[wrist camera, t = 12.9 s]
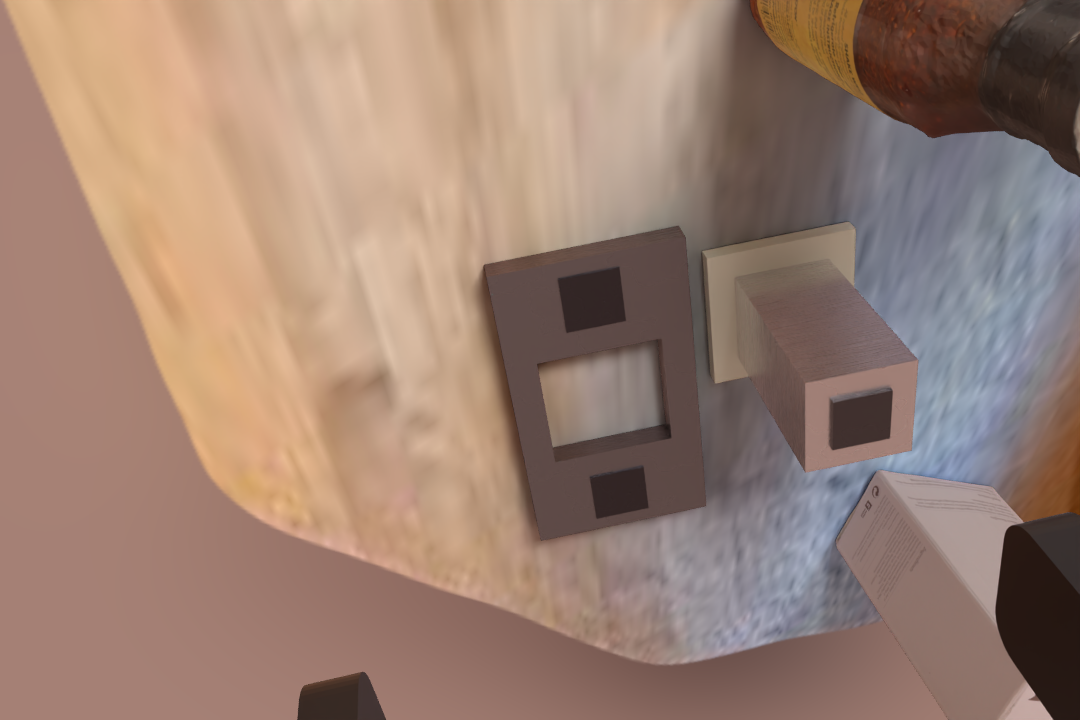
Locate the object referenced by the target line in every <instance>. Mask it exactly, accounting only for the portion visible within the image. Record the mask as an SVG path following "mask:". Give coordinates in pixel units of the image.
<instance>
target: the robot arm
mask: <svg viewBox="0 0 1080 720" xmlns="http://www.w3.org/2000/svg"><path fill="white" fill-rule="evenodd" d="M995 616H996V623H997V627H998V631H999V634H1000V637H1001V640H1002V642H1003V645H1004V647H1005V649H1006V651H1007V653H1008V655H1009V657H1010V658H1011V660H1012V661H1013V663H1014V664H1015V666H1016V667H1017V669H1018V670H1019V671H1020V673H1021V674H1022V676H1023V677H1024V679H1025V680H1026V681H1027V683H1028V684H1029V686H1030V687H1031V689H1032V690H1033V692H1034V693H1035V694H1036V696H1037V697H1038V699H1039V700H1040V702H1041V703H1042V704H1043V706H1044V707H1045V709H1046V710H1047V712H1048V713H1049V715H1050V716H1051V717H1052V719H1053V720H1080V516H1079V515H1077V514H1075V513H1071V512H1069V513H1064V514H1059V515H1055V516H1051V517H1046V518H1042V519H1037V520H1033V521H1029V522H1024V523H1020V524H1016V525H1011V526H1010V527H1008V529H1007V530H1006V532H1005V535H1004V541H1003V549H1002V557H1001V565H1000V573H999V582H998V590H997V598H996V606H995ZM297 720H386V718H385V716H384V713H383V711H382V708H381V706H380V704H379V701H378V699H377V696H376V694H375V691H374V689H373V687H372V684H371V682H370V680H369V678H368V676H367V674H366V673H365V672H360V673H356V674H351V675H348V676H343V677H339V678H334V679H330V680H325V681H321V682H317V683H313V684H308V685H305V686H304V687H303V688H302V690H301V693H300V698H299V708H298V719H297Z"/></svg>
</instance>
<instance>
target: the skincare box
mask: <svg viewBox="0 0 1080 720" xmlns="http://www.w3.org/2000/svg"><path fill="white" fill-rule="evenodd" d="M1020 523H1024V522H1023V521H1022V520H1021V519H1020V518H1019V516H1018V515H1017V514H1016V513H1015V512H1014V511H1013V510H1012V509H1011V508H1010V507H1009V505H1008V504H1007V503H1006V502H1005V501H1004V500H1003V499H1002V498H1001V497H1000V495H999V494H998V493H997V492H996V491H995V490H994V488H993V487H989V486H983V485H976V484H970V483H963V482H957V481H950V480H943V479H937V478H931V477H924V476H918V475H910V474H902V473H895V472H889V471H884V470H878V471H877V472H876V473H875V475H874V476H873V478H872V480H871V481H870V483H869V485H868V487H867V489H866V491H865V493H864V495H863V496H862V498H861V499H860V501H859V503H858V504H857V506H856V507H855V509H854V510H853V512H852V514H851V515H850V517H849V518H848V520H847V522H846V523H845V525H844V527H843V528H842V530H841V532H840V534H839V535H838V537H837V539H836V544H837V549H838V551H839V552H840V554H841V555H842V557H843V558H844V560H845V561H846V563H847V564H848V566H849V568H850V569H851V571H852V572H853V574H854V575H855V577H856V578H857V580H858V582H859V583H860V585H861V586H862V588H863V589H864V591H865V592H866V594H867V595H868V597H869V598H870V600H871V602H872V603H873V605H874V606H875V608H876V609H877V611H878V612H879V614H880V616H881V617H882V619H883V620H884V622H885V623H886V625H887V626H888V628H889V629H890V631H891V633H892V634H893V636H894V637H895V639H896V640H897V642H898V643H899V645H900V646H901V648H902V649H903V651H904V652H905V654H906V655H907V657H908V659H909V660H910V662H911V663H912V665H913V666H914V668H915V669H916V671H917V672H918V674H919V676H920V677H921V678H922V680H923V682H924V683H925V685H926V686H927V688H928V689H929V691H930V692H931V694H932V695H933V697H934V698H935V700H936V702H937V703H938V705H939V706H940V708H941V709H942V711H943V712H944V714H945V715H946V717H947V718H948V720H1053V719H1052V717H1051V716H1050V715H1049V713H1048V712H1047V710H1046V709H1045V707H1044V706H1043V704H1042V703H1041V702H1040V700H1039V699H1038V697H1037V696H1036V694H1035V693H1034V692H1033V690H1032V689H1031V687H1030V686H1029V684H1028V683H1027V681H1026V680H1025V679H1024V677H1023V676H1022V674H1021V673H1020V671H1019V670H1018V669H1017V667H1016V666H1015V664H1014V663H1013V661H1012V660H1011V658H1010V657H1009V655H1008V653H1007V651H1006V649H1005V647H1004V645H1003V642H1002V640H1001V637H1000V634H999V631H998V627H997V623H996V616H995V606H996V598H997V590H998V582H999V573H1000V565H1001V557H1002V549H1003V541H1004V535H1005V532H1006V530H1007V529H1008V527H1010V526H1011V525H1016V524H1020Z"/></svg>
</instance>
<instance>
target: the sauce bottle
mask: <svg viewBox="0 0 1080 720" xmlns="http://www.w3.org/2000/svg"><path fill="white" fill-rule="evenodd" d="M750 8H751V11H752V14H753V17H754V19H755V20H756V21H757V23H758V25H759V26H760V27H761V28H762V29H763V31H764V32H765V34H766V35H767V36H768V37H769V38H770V39H771V40H772V41H773V43H774V44H775V45H776V46H777V47H778V48H779V49H780V50H781V51H783V52H784V53H785V54H787V55H788V56H789V57H791V58H792V59H794V60H796V61H798V62H799V63H801V64H803V65H804V66H806V67H808V68H810V69H811V70H813V71H815V72H816V73H818V74H819V75H821V76H822V77H824V78H825V79H827V80H829V81H831V82H832V83H834V84H836V85H838V86H839V87H841V88H843V89H844V90H846V91H847V92H849V93H851V94H852V95H854V96H856V97H857V98H859V99H861V100H862V101H864V102H866V103H867V104H869V105H871V106H873V107H874V108H876V109H878V110H879V111H881V112H883V113H884V114H886V115H888V116H889V117H891V118H893V119H895V120H898V121H900V122H903V123H906V124H909V125H912V126H913V127H915V128H917V129H919V130H920V131H922V132H924V133H925V134H926V135H927V136H928V137H931V138H936V137H941V136H945V135H950V134H956V133H972V132H988V131H1005V132H1006V133H1008V134H1009V135H1011V136H1013V137H1016V138H1019V139H1026V140H1029V141H1031V142H1033V143H1034V144H1037V145H1039V146H1041V147H1043V148H1044V149H1046V150H1047V151H1049V154H1050V155H1051V157H1052V158H1053V160H1054V161H1055V162H1056V163H1057V164H1059V165H1060V166H1061V167H1062V168H1064V169H1065V170H1067V171H1068V172H1071V173H1073V174H1076V175H1077V176H1079V177H1080V0H750Z"/></svg>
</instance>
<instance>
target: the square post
mask: <svg viewBox="0 0 1080 720" xmlns="http://www.w3.org/2000/svg"><path fill="white" fill-rule="evenodd" d="M734 281H735V303H736V324H737V345H738V358H739V360H740V362H741V364H742V365H743V367H744V369H745V370H746V372H747V374H748V375H749V377H750V379H751V381H752V382H753V384H754V386H755V387H756V389H757V391H758V393H759V394H760V396H761V398H762V399H763V401H764V403H765V404H766V406H767V408H768V410H769V411H770V413H771V415H772V416H773V418H774V420H775V422H776V423H777V425H778V427H779V428H780V430H781V432H782V434H783V435H784V437H785V439H786V440H787V442H788V444H789V445H790V447H791V449H792V451H793V452H794V454H795V456H796V457H797V459H798V461H799V463H800V464H801V466H802V468H803V469H804V471H805V473H806V472H811V471H815V470H820V469H825V468H830V467H835V466H839V465H844V464H849V463H854V462H859V461H863V460H868V459H873V458H878V457H883V456H887V455H892V454H897V453H902V452H907V451H911V450H912V437H913V424H914V411H915V397H916V384H917V371H918V359H917V358H916V357H915V356H914V355H913V353H912V352H911V351H910V350H909V349H908V348H907V347H906V345H905V344H904V343H903V342H902V341H901V340H900V339H899V338H898V336H897V335H896V334H895V333H894V332H893V331H892V330H891V328H890V327H889V326H888V325H887V324H886V323H885V322H884V321H883V319H882V318H881V317H880V316H879V315H878V314H877V313H876V311H875V310H874V309H873V308H872V307H871V306H870V305H869V304H868V302H867V301H866V300H865V299H864V298H863V297H862V296H861V294H860V293H859V292H858V291H857V290H856V289H855V288H854V286H853V285H852V284H851V283H850V282H849V281H848V280H847V279H846V277H845V276H844V275H843V274H842V273H841V272H840V271H839V269H838V268H837V267H836V266H835V265H834V264H833V263H832V262H831V260H830V259H829V258H827V259H822V260H817V261H812V262H807V263H802V264H797V265H792V266H787V267H782V268H777V269H772V270H767V271H762V272H757V273H752V274H747V275H743V276H738V277H734Z"/></svg>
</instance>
